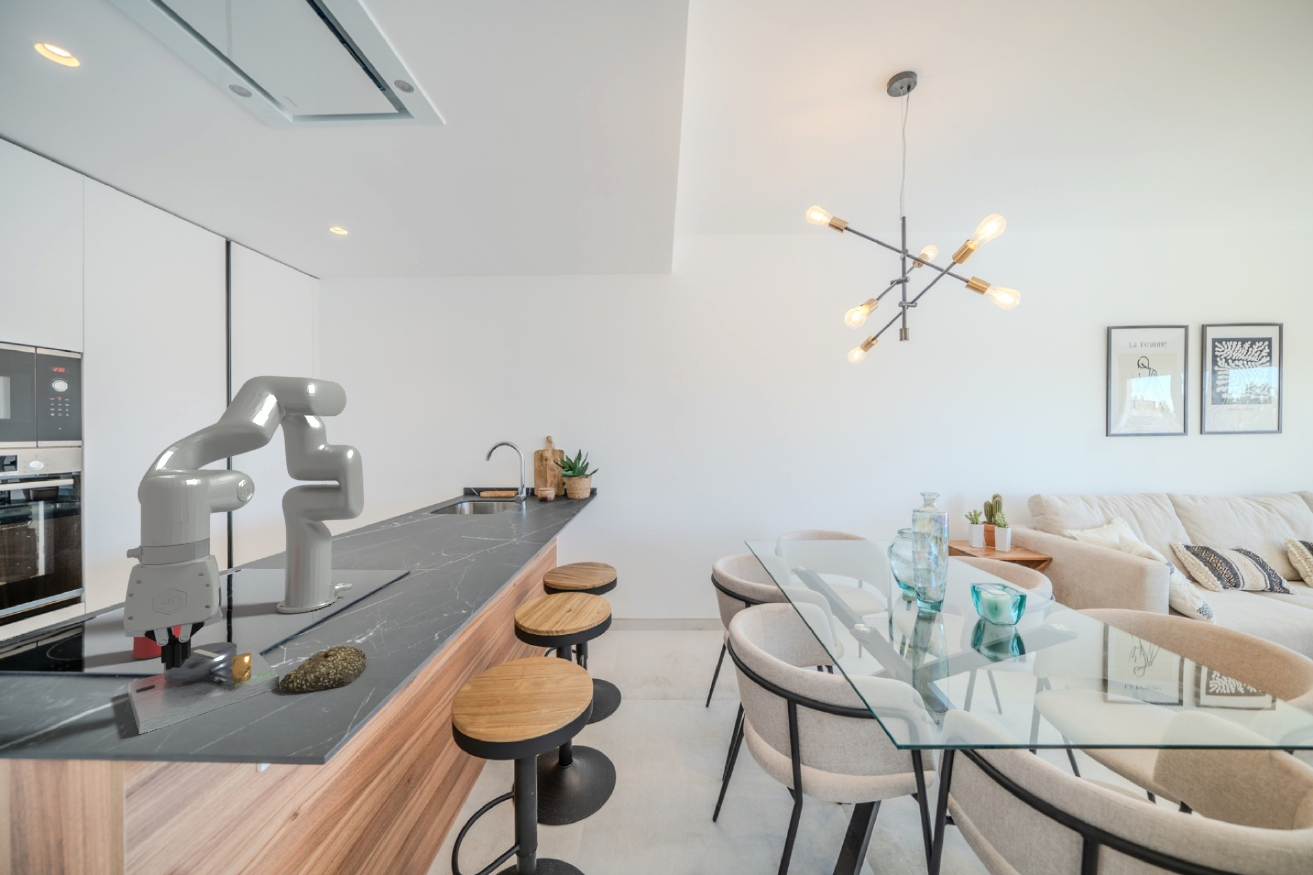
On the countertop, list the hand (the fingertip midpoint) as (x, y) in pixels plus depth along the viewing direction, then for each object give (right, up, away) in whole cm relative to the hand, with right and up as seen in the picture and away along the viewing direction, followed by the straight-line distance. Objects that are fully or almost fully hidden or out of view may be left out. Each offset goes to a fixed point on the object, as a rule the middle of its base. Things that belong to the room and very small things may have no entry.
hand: (176, 664), depth 71 cm
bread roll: (+16, -8, +11) cm, 21 cm away
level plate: (-1, -7, +5) cm, 9 cm away
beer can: (-24, -7, +18) cm, 31 cm away
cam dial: (0, -4, +6) cm, 7 cm away
